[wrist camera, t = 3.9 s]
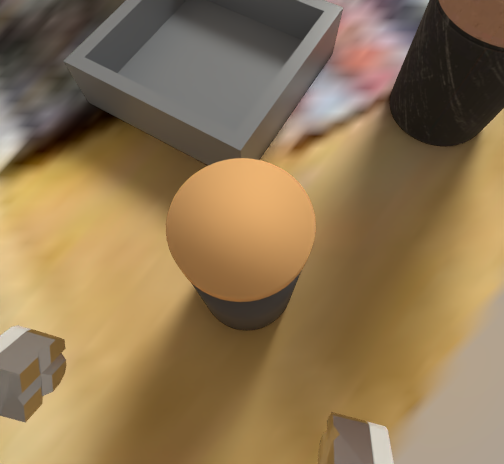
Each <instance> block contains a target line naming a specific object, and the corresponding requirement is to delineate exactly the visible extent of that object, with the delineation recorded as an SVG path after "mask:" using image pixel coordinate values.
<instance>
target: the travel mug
mask: <svg viewBox="0 0 504 464" xmlns="http://www.w3.org/2000/svg"><path fill="white" fill-rule="evenodd" d="M390 108H391V112H392V115H393V117H394V119H395V120H396V122H397V123H398V125H399V126H400V127H401V128H402V129H403V130H404V131H405V132H406V133H408V134H409V135H410V136H412V137H414V138H415V139H417V140H419V141H422V142H425V143H428V144H432V145H437V146H453V145H458V144H461V143H464V142H466V141H468V140H470V139H472V138H473V137H475V136H476V135H477V134H478V133H479V132H480V131H481V130H482V129H483V128H484V127H485V126H486V125H487V124H488V123H489V122H490V121H491V120H492V119H493V118H494V117H495V116H496V115H497V114H498V113H499V112H500V111H501V110H502V109H503V108H504V0H430V1H429V3H428V6H427V8H426V10H425V13H424V15H423V17H422V20H421V22H420V25H419V27H418V29H417V32H416V34H415V36H414V39H413V41H412V44H411V46H410V48H409V51H408V53H407V55H406V58H405V60H404V63H403V65H402V67H401V70H400V72H399V74H398V77H397V79H396V82H395V84H394V87H393V89H392V92H391V96H390Z"/></svg>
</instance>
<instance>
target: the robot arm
mask: <svg viewBox="0 0 504 464" xmlns="http://www.w3.org/2000/svg"><path fill="white" fill-rule="evenodd" d="M64 350H65V340H64V339H62V338H59V337H56V336H52V335H49V334H46V333H43V332H39V331H36V330H33V329H29V328H25V327H22V326H19V325H16V326H13V327H11V328H9V329H8V330H7V331H5V332H4V333H3V334H1V335H0V416H3V417H7V418H11V419H15V420H18V421H22V422H26V421H27V420H28V419H29V418H30V417H31V416H32V415H33V414H34V412H35V411H36V410H37V409H38V408H39V407H40V406H41V404H42V401H43V396H44V395H46V394H48V393H51V392H53V391H54V390H55V388H56V387H57V386H58V385H59V384H60V382H61V380H62V378H63V376H64V374H65V370H66V359H65V358H64V356H63V355H62V352H63V351H64ZM318 464H394V461H393V456H392V450H391V445H390V439H389V434H388V430H387V428H386V426H382V425H378V424H375V423H371V422H366V421H364V420H360V419H356V418H352V417H348V416H345V415H341V414H337V413H333V412H331V413H330V415H329V418H328V420H327V431H325V432H323V435H322V438H321V441H320V446H319V451H318Z"/></svg>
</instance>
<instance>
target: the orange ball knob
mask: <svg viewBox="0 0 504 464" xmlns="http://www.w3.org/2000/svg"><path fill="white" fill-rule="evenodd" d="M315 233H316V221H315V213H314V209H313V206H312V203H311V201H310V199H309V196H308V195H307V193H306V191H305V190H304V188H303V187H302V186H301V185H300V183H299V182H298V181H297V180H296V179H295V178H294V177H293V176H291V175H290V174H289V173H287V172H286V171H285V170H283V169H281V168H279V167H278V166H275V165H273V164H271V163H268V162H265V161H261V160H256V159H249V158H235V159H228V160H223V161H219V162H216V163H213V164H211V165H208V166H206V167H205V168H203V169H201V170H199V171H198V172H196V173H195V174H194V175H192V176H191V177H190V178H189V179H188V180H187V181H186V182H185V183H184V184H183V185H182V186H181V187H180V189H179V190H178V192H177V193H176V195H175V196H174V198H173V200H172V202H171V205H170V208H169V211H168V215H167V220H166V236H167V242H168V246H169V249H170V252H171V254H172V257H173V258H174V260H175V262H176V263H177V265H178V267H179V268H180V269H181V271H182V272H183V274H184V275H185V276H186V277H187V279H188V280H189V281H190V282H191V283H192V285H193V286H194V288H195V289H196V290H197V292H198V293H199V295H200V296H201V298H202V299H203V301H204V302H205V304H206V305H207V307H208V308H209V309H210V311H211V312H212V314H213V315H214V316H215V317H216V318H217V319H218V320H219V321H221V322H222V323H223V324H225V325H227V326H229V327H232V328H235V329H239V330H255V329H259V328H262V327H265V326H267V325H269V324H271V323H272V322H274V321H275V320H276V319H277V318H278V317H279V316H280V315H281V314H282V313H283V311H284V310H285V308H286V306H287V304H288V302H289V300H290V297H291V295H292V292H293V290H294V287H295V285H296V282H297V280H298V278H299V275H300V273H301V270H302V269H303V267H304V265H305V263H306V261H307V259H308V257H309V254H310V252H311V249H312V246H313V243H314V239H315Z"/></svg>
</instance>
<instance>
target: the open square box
mask: <svg viewBox="0 0 504 464" xmlns="http://www.w3.org/2000/svg"><path fill="white" fill-rule="evenodd" d="M342 11H343V7H340V6H338V5H335V4H333V3H330V2H327V1H325V0H126V1H125V2H124V3H123V4H122V5H121V6H120V7H119V8H118V9H117V10H115V11H114V12H113V13H112V14H111V15H110V16H109V17H108V18H107V19H106V20H105V21H104V22H103V23H102V24H101V25H100V26H99V27H98V28H97V29H96V30H95V31H94V32H93V33H92V34H91V35H90V36H89V37H88V38H87V39H86V40H85V41H84V42H83V43H82V44H81V45H79V46H78V47H77V48H76V49H75V50H74V51H73V52H72V53H71V54H70V55H69V56H68V57H67V58H66V59H65V60H64V63H65V65H66V66H67V68H68V70H69V71H70V73H71V74H72V76H73V78H74V79H75V81H76V83H77V84H78V86H79V88H80V89H81V91H82V93H83V94H84V96H85V97H86V99H87V101H88V102H89V103H90V104H92V105H94V106H96V107H98V108H100V109H102V110H104V111H106V112H108V113H109V114H111V115H113V116H115V117H117V118H119V119H121V120H123V121H125V122H127V123H128V124H130V125H132V126H134V127H136V128H138V129H140V130H142V131H144V132H146V133H148V134H149V135H151V136H153V137H155V138H157V139H159V140H161V141H163V142H165V143H167V144H168V145H170V146H172V147H174V148H176V149H178V150H180V151H182V152H184V153H186V154H187V155H189V156H191V157H193V158H195V159H197V160H199V161H201V162H203V163H205V164H207V165H211V164H213V163H216V162H219V161H223V160H228V159H235V158H249V159H256V160H259V159H260V158H261V157H262V155H263V154H264V152H265V151H266V149H267V148H268V146H269V145H270V144H271V142H272V141H273V139H274V138H275V136H276V135H277V133H278V132H279V130H280V129H281V128H282V126H283V125H284V123H285V122H286V120H287V119H288V117H289V116H290V114H291V113H292V112H293V110H294V109H295V107H296V106H297V104H298V103H299V101H300V100H301V99H302V97H303V96H304V94H305V93H306V91H307V90H308V88H309V87H310V85H311V84H312V83H313V81H314V80H315V78H316V77H317V75H318V74H319V72H320V71H321V69H322V68H323V67H324V65H325V64H326V62H327V61H328V59H329V58H330V56H331V55H332V54H333V49H334V45H335V41H336V36H337V32H338V28H339V23H340V19H341V15H342Z"/></svg>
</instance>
